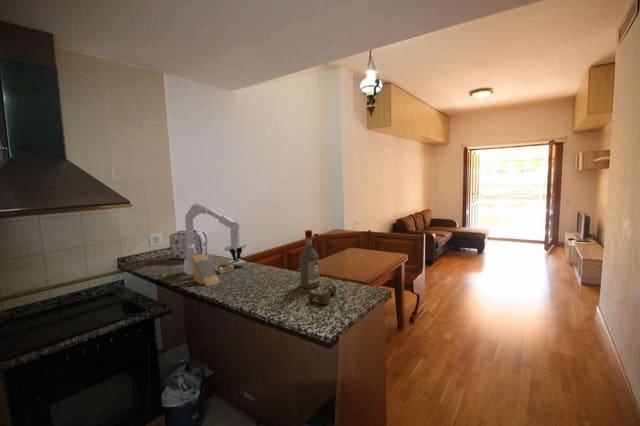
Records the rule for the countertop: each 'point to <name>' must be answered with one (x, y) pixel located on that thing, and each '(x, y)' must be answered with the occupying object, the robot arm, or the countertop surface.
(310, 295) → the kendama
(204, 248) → the lunch box
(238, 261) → the lid
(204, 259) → the sandwich container
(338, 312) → the countertop surface
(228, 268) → the box
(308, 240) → the liquor
